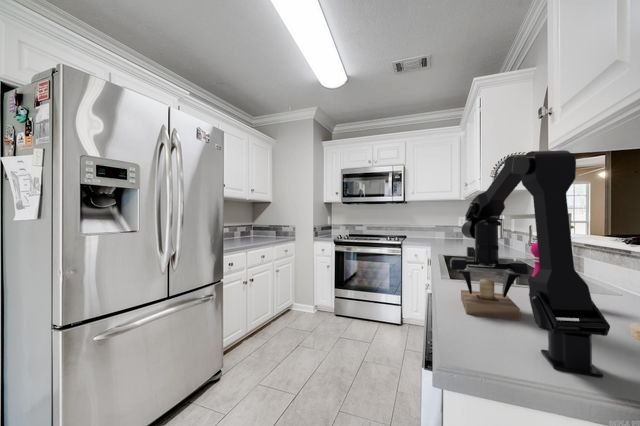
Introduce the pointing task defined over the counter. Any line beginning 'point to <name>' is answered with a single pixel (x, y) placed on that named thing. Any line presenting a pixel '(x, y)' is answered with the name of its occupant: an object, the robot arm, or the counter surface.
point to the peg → (487, 290)
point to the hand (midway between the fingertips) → (487, 295)
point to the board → (490, 306)
